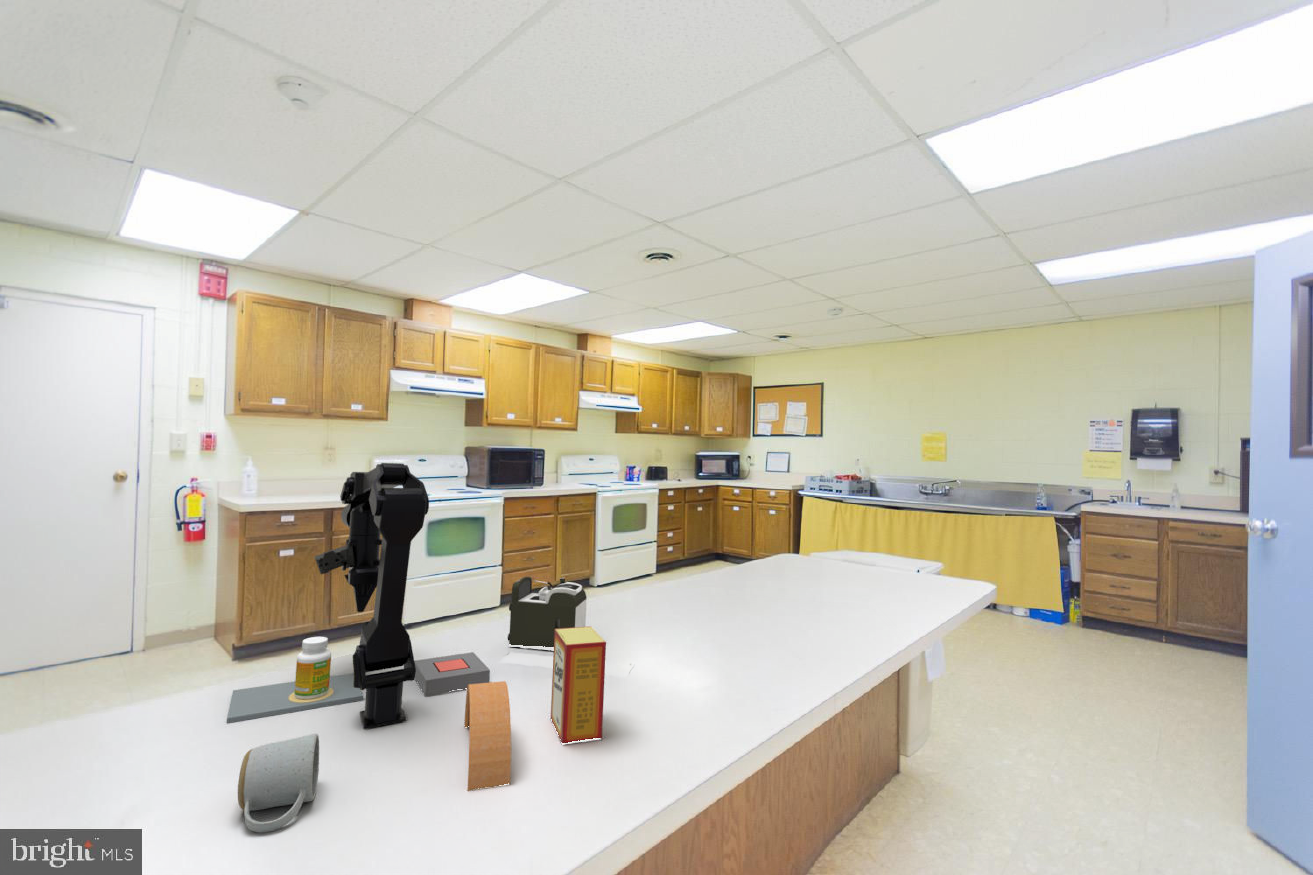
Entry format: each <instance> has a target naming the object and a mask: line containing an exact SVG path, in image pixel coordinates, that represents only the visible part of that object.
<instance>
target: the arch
mask: <svg viewBox="0 0 1313 875" xmlns="http://www.w3.org/2000/svg"><path fill="white" fill-rule="evenodd" d="M465 695H466V696H465V710H464V724H463V725H465V726H464V728H465V727H468V726H469V727H470V728H469V727H468V728H469V739H468V740H469V742H468V743H469V744H468V746H469V747H468V749H469V750H468V771H467V773H468V775H467V792H470V791H469V790H472V791H474V790H473V789H478V788H479V789H478V790H481V789H480V788H485V787H492V788H495V787H494V786H499V785H504V784H508V783H509V784H510V785H511V775H512V771H511V770H512V768H511V766H512V727H511V726H512V724H511V704H510V696H509V689H508V684H507V681H505V680H503V681H491V682H490V681H489V683H479V684H468V687H467V690H466V694H465ZM499 787H500V786H499ZM485 789H486V788H485Z"/></svg>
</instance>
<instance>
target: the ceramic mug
mask: <svg viewBox="0 0 1313 875" xmlns="http://www.w3.org/2000/svg"><path fill="white" fill-rule="evenodd" d="M319 738H320V737H319V734H318V733H311V734H307V735H303V736H299V737H298V736H297V737H296V738H295V737H294V738H291V739H286V740H281V741H276V742H270V743H266V744H263V745H260V746H257V747H254V748H250V750H248V751H247V752H246V754H245V755H244V756H243V759H242V761H241V765H240V770H239V775H238V780H237V781H238V782H237V783H238V785H237V802H238V803H237V804H238V806H239V808H240V809H241V810H242V811H244V812H243V814H244V815H243V816H244V821H245V822H244V823H245V826H246V827H247V828H248V830H250V831H252V832H254V833H255V832H256V833H262V834H263V833H269V832H270V833H271V832H275V831H277V830H279V829H282V828H283V827H284V826H287V824H289V823H290V822H291V821H292V820H293V819H295V817H296V816H297V814H298V813H299V811H300V809H301V807H302V805H303V803H308V802H312V801H314V800H315V796H316V794H317V788H318V780H319V774H320V773H319V772H320V739H319ZM290 805H292V807H290V809H288V810H287V812H286V813H284V814H283V815H281V816H279V817H278V818H277V819H275V820H272V821H265V822H264V821H263V822H262V821H257V820H256V819H253V818H252V817H251V815H250V813H251V811H260V810H265V809H266V810H268V809H270V808H276V807H283V806H290Z"/></svg>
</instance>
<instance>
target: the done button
mask: <svg viewBox="0 0 1313 875" xmlns="http://www.w3.org/2000/svg"><path fill="white" fill-rule="evenodd" d="M434 666H435V667H436V669H437V670H438V672H439V673H440V672H446V671H453V670H459V669H465V668H469V667H468V666H467V665H466V663H465V662H464V661H463V660H462V659H458V660H451V661H444V662H437V663H434Z"/></svg>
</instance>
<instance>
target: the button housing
mask: <svg viewBox="0 0 1313 875" xmlns="http://www.w3.org/2000/svg"><path fill="white" fill-rule="evenodd" d="M458 659H462V660H463V661H464V662H465V663H466V665H467V666H468V667H469V668H465V669H459V670H453V671H446V672H440V673H439V672H438V670H437V669H436V667H435V666H434V663H437V662H444V661H451V660H458ZM414 662H415V668H416V673H415V679H416V680H415V679H414V680H415V681H417V682H418V683H417V682H416V683H417V685H418V684H419V685H418V687H419V686H420V687H419V689H420V688H421V689H422V690H421V689H420V690H421V692H422V694H423V693H424V694H423V696H424V697H425V696H427V697H431V695H433V696H437V695H436V694H438V695H442V694H441V693H444V692H449V691H452V690H457V689H465V688H467V687H468V684H479V683H490V680H491V679H490V678H491V677H490V676H491V670H490V668H488V667H487V665H486V664H485V663H484V662H483V661H482V660H481V658H480V657H478V655H477V654H476V653H474V651H473V652H466V653H459V654H452V655H444V656H438V657H437V656H436V657H430V658H424V659H417V660H415V659H414ZM444 694H445V693H444Z"/></svg>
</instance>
